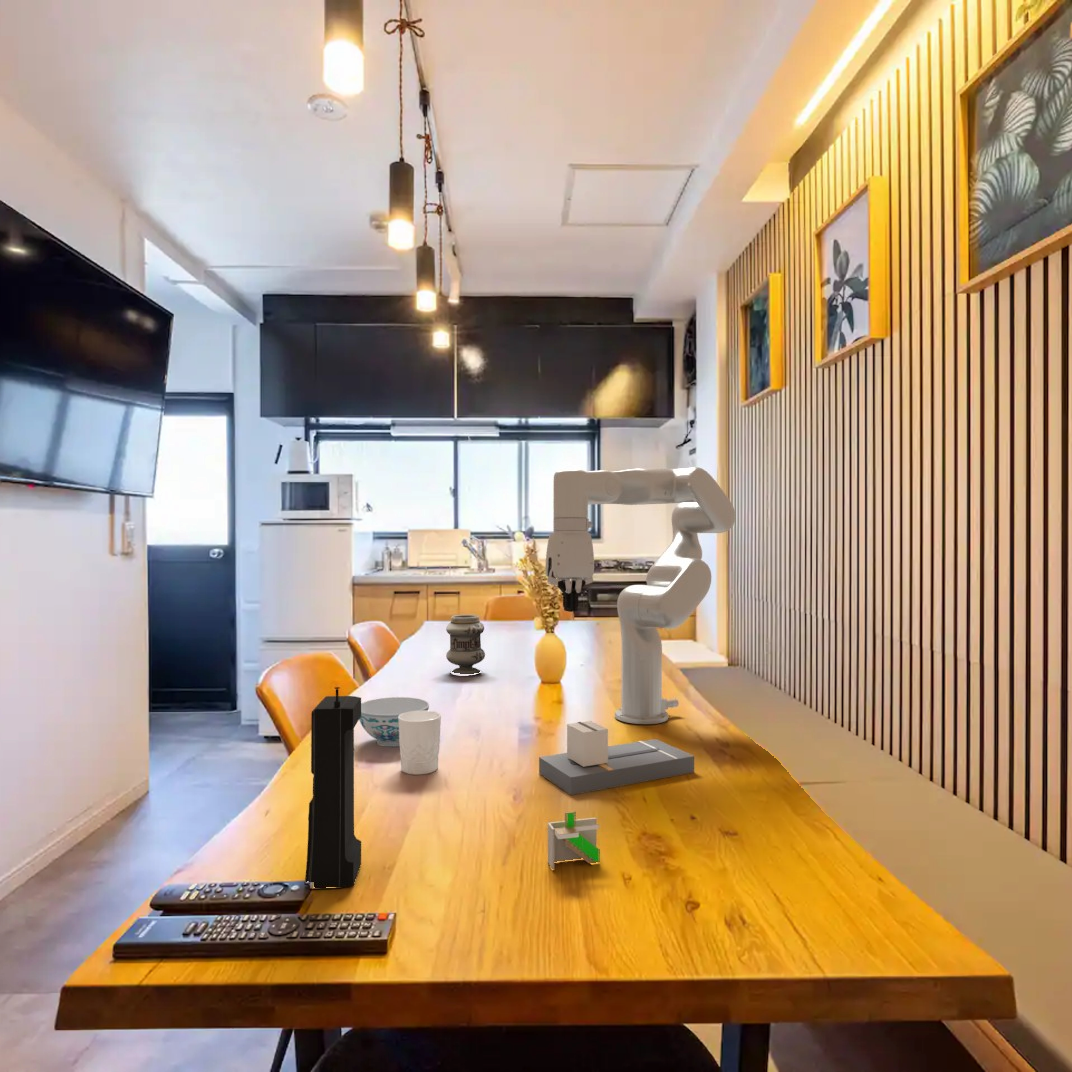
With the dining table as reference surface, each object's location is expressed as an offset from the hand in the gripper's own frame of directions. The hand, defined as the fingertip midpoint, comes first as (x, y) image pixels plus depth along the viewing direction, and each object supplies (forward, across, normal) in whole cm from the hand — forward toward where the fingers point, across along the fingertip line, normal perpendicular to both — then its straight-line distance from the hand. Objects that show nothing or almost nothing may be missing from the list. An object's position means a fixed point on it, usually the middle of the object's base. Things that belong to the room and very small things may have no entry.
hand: (570, 610), depth 156 cm
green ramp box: (+28, +29, +53) cm, 66 cm away
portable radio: (+27, +58, +42) cm, 77 cm away
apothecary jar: (+27, -3, -73) cm, 78 cm away
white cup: (+27, +36, +7) cm, 46 cm away
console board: (+27, +4, +25) cm, 37 cm away
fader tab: (+24, +10, +25) cm, 36 cm away
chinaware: (+27, +36, -12) cm, 47 cm away
